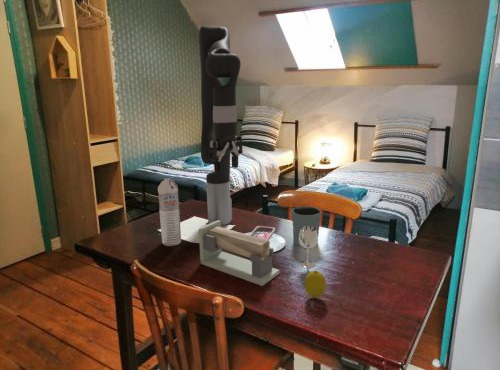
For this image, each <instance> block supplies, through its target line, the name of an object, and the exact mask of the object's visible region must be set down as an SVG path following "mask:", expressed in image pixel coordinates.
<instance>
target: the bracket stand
mask: <svg viewBox="0 0 500 370" xmlns="http://www.w3.org/2000/svg"><path fill="white" fill-rule="evenodd" d="M217 226H218V227H222V225H221V221H220V220H217V221H215V222H212V223H210V224H209V223H208V224H206V225H204V226H201V227H199V228H198V239H199V259H200V265H204V266H205V267H208V268H211V269H215V270H217V271H220V272H222V273H225V274H229V275H230V276H234V277H237V278H240V279H243V280H245V281H247V282H250V283H252V284H255V285H259V286H261V287H264V286H265V285H266V284H267V283H268V282H270V281H272V279H274V278H275V277H277V276H278V275H279V274H280V269H277V268H274V267H273V256H274V253H275V251H274V250H275V249H274V248H273V247H270V246H269V257H268V258H266V259H264V260H263V261H260V256H257V255H253V254H251V255H250V258H249V259H247V258H245V257H244V258H243V257H241V256H238V255H236V254H231V253H228V252H226V251H223V249H221V248H218V247H215V236H212V235H209V230H211V229H213V228H215V227H217Z"/></svg>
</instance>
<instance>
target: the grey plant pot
mask: <svg viewBox="0 0 500 370" xmlns="http://www.w3.org/2000/svg"><path fill="white" fill-rule="evenodd" d="M321 216H322V210H321V209H319V208H318V207H315V206H308V205H307V206H306V205H305V206H297V207H293V208H292V209H291V218H292V220H291V221H292V232H293V233H292V235H293V238H292V240H293V244H294V245H295V246H297V247H300V248H303V247H302V246H301V245H300V243H299V234H300V230H301V228H302V227H304V226H311V227H315V228H316V231H317V236H318V237H319V233H320V232H319V231H320V222H321ZM318 243H319V242H317V244H318Z"/></svg>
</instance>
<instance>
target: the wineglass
mask: <svg viewBox="0 0 500 370" xmlns="http://www.w3.org/2000/svg"><path fill="white" fill-rule="evenodd" d="M318 237H319V235H318V236H317V231H316V228H315V227H311V226H304V227H302V228H301V230H300V234H299V243H300V245H301V246H302V247H301V248H303V249H306V250H305V251H306V260H305V261H302V262H300V266H301V267H303V268H305V269H309V268H310V269H312V268H314V267H315V266H316V265H315V263H314V262H313V261H309V254H310V252H311V251H310V249H314V248H315V247H316V246H317V245H318V243H319V242H318V241H319V238H318ZM317 242H318V243H317Z"/></svg>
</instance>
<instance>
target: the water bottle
mask: <svg viewBox="0 0 500 370" xmlns="http://www.w3.org/2000/svg"><path fill="white" fill-rule="evenodd" d="M163 177H164V179H163V180H162V181H161V182H160V184H159V185H158V187H157V192H158V202H159V220H160V222H159V223H160V233H161V241H162V242H161V243H162V245H164V246H165V247H174V246H178V245H180V244H181V242H182V231H181V220H180V219H181V217H180V216H181V215H180V213H181V212H180V206H179V202H180V201H179V187H178V184H176V183H175V181H173V180H172V179H171V175H170V174H165V175H163Z"/></svg>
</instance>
